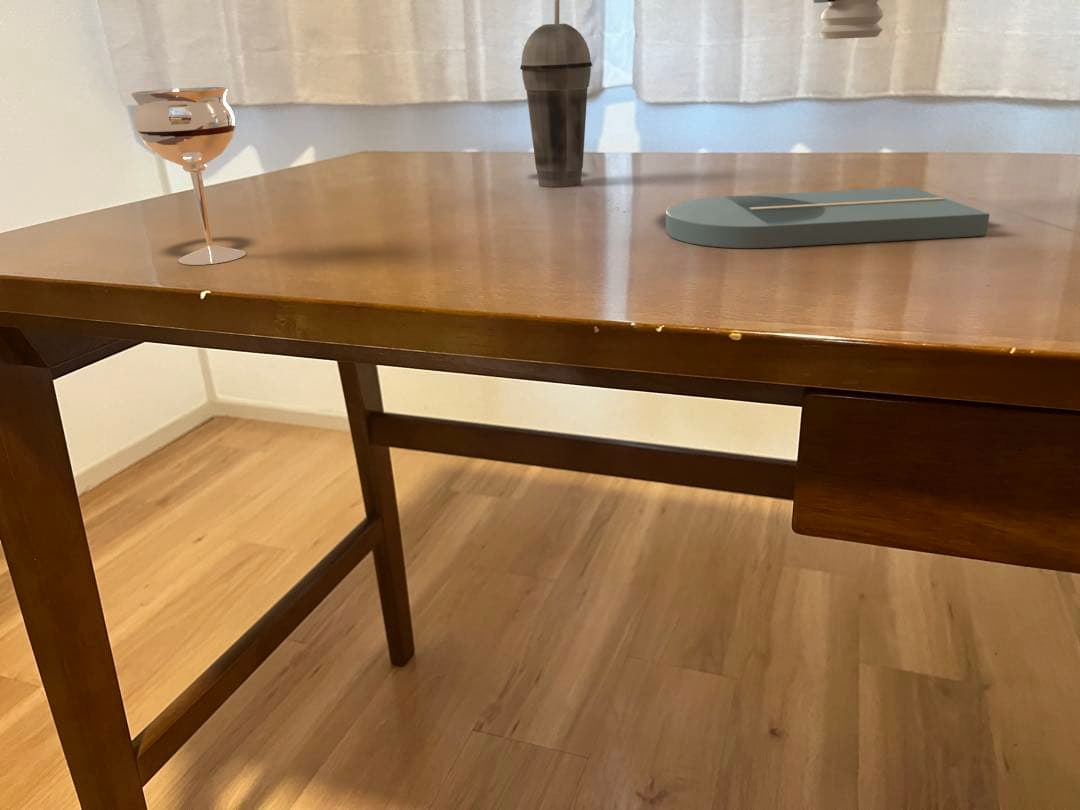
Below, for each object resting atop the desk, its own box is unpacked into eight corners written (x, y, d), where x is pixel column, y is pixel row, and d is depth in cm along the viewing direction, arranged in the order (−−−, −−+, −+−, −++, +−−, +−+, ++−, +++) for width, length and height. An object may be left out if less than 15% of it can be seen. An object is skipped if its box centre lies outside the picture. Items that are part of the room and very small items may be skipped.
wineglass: (198, 246, 69) (166, 88, 65) (274, 246, 68) (247, 85, 63) (145, 267, 63) (106, 95, 58) (227, 268, 62) (194, 92, 57)
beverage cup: (515, 188, 89) (504, -27, 81) (538, 177, 95) (530, -24, 87) (583, 189, 86) (578, -32, 78) (602, 178, 93) (599, -29, 85)
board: (909, 205, 73) (912, 185, 72) (986, 236, 62) (990, 212, 61) (652, 219, 72) (653, 199, 71) (684, 252, 61) (684, 228, 60)
